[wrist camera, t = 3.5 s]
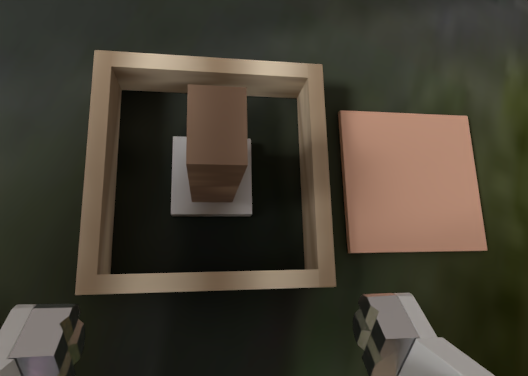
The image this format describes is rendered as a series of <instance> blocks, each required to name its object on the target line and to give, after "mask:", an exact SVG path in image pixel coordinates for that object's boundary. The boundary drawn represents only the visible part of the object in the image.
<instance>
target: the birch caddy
mask: <svg viewBox="0 0 528 376" xmlns="http://www.w3.org/2000/svg"><path fill="white" fill-rule="evenodd" d="M188 84H192V85H211V86H230V87H247V96H256V97H277V98H297V110H298V132H299V154H300V175H301V197H302V219H303V240H304V262H305V270H268V271H227V272H186V273H144V274H110V273H111V256H112V240H113V224H114V208H115V191H116V175H117V159H118V143H119V126H120V110H121V94H122V90H132V91H153V92H174V93H188ZM314 287H336V274H335V258H334V242H333V227H332V211H331V195H330V179H329V163H328V147H327V131H326V115H325V99H324V84H323V68H322V64H307V63H291V62H275V61H259V60H244V59H228V58H212V57H196V56H181V55H165V54H149V53H134V52H118V51H102V50H95V51H94V63H93V76H92V88H91V101H90V113H89V126H88V138H87V151H86V163H85V176H84V188H83V201H82V213H81V226H80V238H79V251H78V263H77V275H76V288H75V295H95V294H126V293H157V292H189V291H220V290H251V289H283V288H314Z"/></svg>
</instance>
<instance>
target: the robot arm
mask: <svg viewBox="0 0 528 376" xmlns="http://www.w3.org/2000/svg"><path fill="white" fill-rule="evenodd" d="M358 304H359V306H360V309H359V310H358V311H356V312H355V314H354V318H353V332H354V337H355V340H356V342H357V344H358V345H359V346H360V347H361V348H362V349H363V350H364V353H363V356H362V359H363V361H364V364H365V367H366V369H367V372H368V375H369V376H495V375H493V374H492V373H490V372H489V371H488V370H486V369H485V368H484V367H482V366H481V365H480V364H478V363H477V362H475V361H474V360H473V359H471V358H470V357H469V356H467V355H466V354H465V353H463V352H462V351H460V350H459V349H458V348H456V347H455V346H454V345H452V344H451V343H449V342H448V341H447V340H445V339H444V338H443V337H437V335H436V334H435V332H434V330H433V328H432V327H431V325H430V323H429V322H428V320H427V318H426V317H425V315H424V313H423V311H422V310H421V308H420V306H419V305H418V303H417V301H416V300H415V298H414V296H413V295H412V294H411V293H380V294H363V295H362V296H361V297H360V299H359V302H358ZM80 313H81V312H80V308H79V305H78V304H19V305H16V306H15V307H14V308H13V309H12V310H11V311H10V313H9V315H8V316H7V318H6V320H5V322H4V324H3V326H2V327H1V329H0V376H75V375H76V373H75V369H74V366H73V365H74V364H75V363H76V362H77V361H78V360H79V359H80V358H81V355H82V352H83V349H84V342H85V328H84V323H83V322H81V321H80V320H78V319H79V316H80Z"/></svg>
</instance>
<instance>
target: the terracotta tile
mask: <svg viewBox="0 0 528 376" xmlns="http://www.w3.org/2000/svg"><path fill="white" fill-rule="evenodd" d="M338 121H339V135H340V149H341V164H342V178H343V192H344V206H345V220H346V235H347V249H348V253H395V252H452V251H488V250H487V244H486V237H485V230H484V223H483V217H482V210H481V203H480V197H479V190H478V183H477V176H476V170H475V163H474V156H473V149H472V143H471V136H470V129H469V123H468V116H456V115H434V114H411V113H389V112H366V111H343V110H340V111H339V113H338Z"/></svg>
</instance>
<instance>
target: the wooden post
mask: <svg viewBox="0 0 528 376" xmlns="http://www.w3.org/2000/svg"><path fill="white" fill-rule="evenodd" d="M251 215H252V175H251V139H247V87H230V86H211V85H192V84H188V95H187V137H176V136H173V154H172V188H171V216H251Z"/></svg>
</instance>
